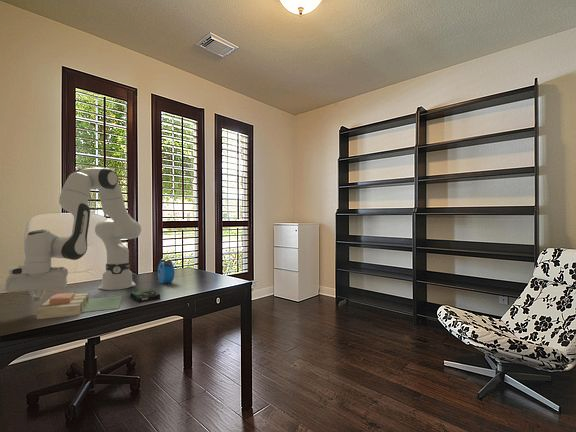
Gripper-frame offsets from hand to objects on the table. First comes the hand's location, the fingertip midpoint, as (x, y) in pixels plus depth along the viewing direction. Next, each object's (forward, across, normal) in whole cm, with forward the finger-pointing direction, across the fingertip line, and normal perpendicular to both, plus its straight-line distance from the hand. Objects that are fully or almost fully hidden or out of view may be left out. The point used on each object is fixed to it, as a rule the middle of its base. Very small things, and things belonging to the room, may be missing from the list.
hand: (37, 300), depth 126 cm
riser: (+5, -10, 0) cm, 11 cm away
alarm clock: (+5, -53, -40) cm, 66 cm away
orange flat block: (+1, -9, 0) cm, 9 cm away
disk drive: (+6, -41, -8) cm, 43 cm away
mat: (+5, -24, -3) cm, 24 cm away
